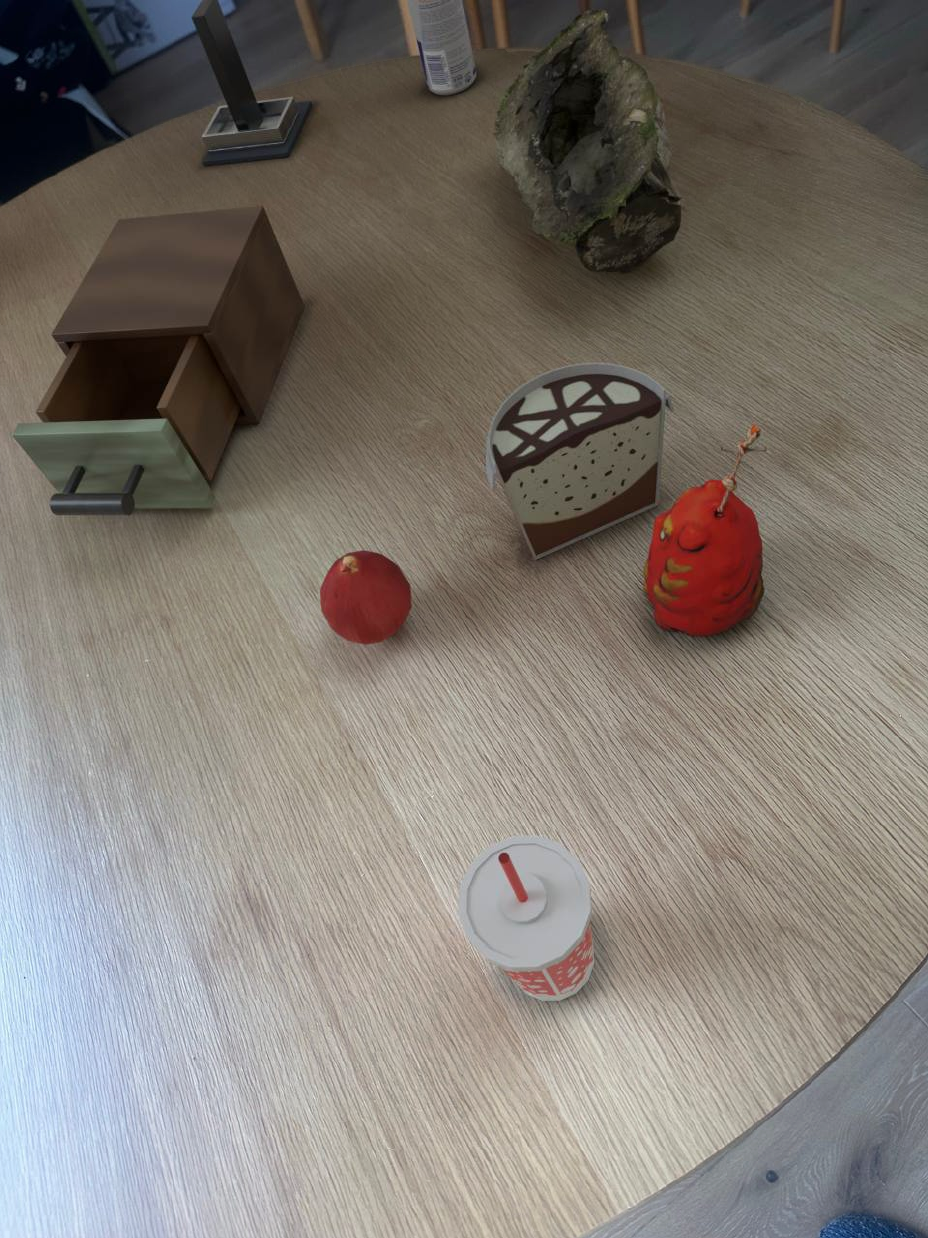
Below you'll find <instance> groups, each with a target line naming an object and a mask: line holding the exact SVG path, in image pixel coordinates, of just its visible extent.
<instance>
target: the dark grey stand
mask: <svg viewBox="0 0 928 1238" xmlns="http://www.w3.org/2000/svg"><path fill="white" fill-rule="evenodd" d="M191 20H192V22H193V25H194V28H195V30H196V33H197V35H198V38H199V40H200V42H201V44H202V47H203V49H204V52H205V54H206V57H207V59H208V62H209V64H210V67H211V69H212V72H213V74H214V77H215V79H216V82H217V83H218V86H219V88H220V91H221V93H222V95H223V98H224V101H225V103H226V104H223V105H218V106H217V108H216V110H215V112H214V113H213V115H212V118H211V120H210V121H209V123H208V124H207V126H206V128H205V130H204V132H203V134H202V135H201V139H202V141H203V143H204V145H205V148H206V150H207V152H209V154H215V153H224V152H233V151H242V150H251V149H260V148H269V147H278V146H285V144H286V142H287V140H288V138H289V136H290V134H291V132H292V130H293V127H294V125H295V123H296V121H297V119H298V117H299V115H300V114H299V111H298V109H297V106H296V103H297V102H296V100H295V97H294V96H288V97H287V96H286V97H279V98H272V99H264V100H257V98H256V95H255V92H254V90H253V87H252V84H251V83H250V80H249V77H248V74H247V71H246V69H245V67H244V64H243V62H242V59H241V56H240V54H239V51H238V48H237V45H236V43H235V41H234V39H233V35H232V33H231V31H230V28H229V25H228V23H227V19H226V17H225V14H224V12H223V8H221V5H220V2H219V0H201V1H200V3H199V5H198V6H197V8H196V9H195V11H194V12H193V14H192V16H191Z"/></svg>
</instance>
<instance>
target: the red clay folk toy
mask: <svg viewBox="0 0 928 1238" xmlns="http://www.w3.org/2000/svg"><path fill="white" fill-rule="evenodd" d="M761 435H762V432H761V428H760V426H758V425H757V424H752V426H751V427H750V429H749V430H747V433H746V439H745V440H742V439H741V441H740V442H738V444H737V445H736V448H730V447H724V446H721V447H720V451H722V452H727V453H728V452H729V453H737V455H736V458H735V462H734V467H733V470H732V472H731V475H726V476H724V477H723V478H722V480H721V479H713V478H711V479H709V480H707V481H705V482H704V484H701V485H700V486H692V487H690V488H688V489H686V490H684V491H683V492H682V493H681V494H680V495H679V496H678V497H677V499H676V500H675V501H674V502H673V506H671V508H669V509H667V510H666V511H665V512H663V513H661V514H659V515H657V516H656V517H655V518H654V522H653V530H652V539H651V542H650V544H649V550H648V555H647V557H646V560H645V563H644V567H643V577H644V581H643V586H642V588H643V591H644V594H645V595H646V596H647V598H648V602H649V603H650V604H651V605H652V606H653V619H654V621H655V624H656V625H657V626H658V627H659V628H660V629H661V630H662V631H665V632H672V633H673V632H674V633H676V632H677V631H679V632H681V633H683V634H685V635H687V636H689V637H695V638H697V637H699V638H700V637H709V636H714V635H717V634H720V633H723V632H725V631H727V630H729V629H730V628H732V627H734V626H735V625H736V624H739V622H740V621H743V620H747V619H749V618H751V617H752V616H754V614H755V613H756V611H757V610H758V608H759V606H760V604H761V601H762V598H763V596H764V594H765V586H764V578H763V576H762V573H763V567H764V558H763V540H762V537H761V535H760V529H759V523H758V520H757V517H756V515H755V513H754V510H753V509H752V508H751V507H750V506H749V505H747V504H746V503H745V502H744V501H743V500H742V499H740V497H738V496H737V495H736V494H735V493H734V492H735V491H736V490H737V488H738V482H737V480H736V478H735V477H736V474H737V471H738V468H739V466H740V463H741V460H742V458H743V456H744V455H746V454H747V453H756V452H767V451H768V449H767V447H766V446H761V447H757V446H756V447H753V448H751V447H750V446H752V445H753V443H754V442H755V441H756V440H758V439H759V438H760V436H761Z"/></svg>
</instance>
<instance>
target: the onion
mask: <svg viewBox="0 0 928 1238" xmlns="http://www.w3.org/2000/svg"><path fill="white" fill-rule="evenodd" d="M325 574H326V575H325V577H324V579H323V581H322V583H321V585H320V589H319V601H320V603H319V604H320V610H321V613H322V615H323V617H324V618H325V620H326V623H328V625H329V627H330V628H331V630H333V632H334V633H335V634H336V635H337V636H340V637H341V638H343V639H344V640H346V641H347V642H351V643H354V644H361V645H372V644H373V645H374V644H378V643H381V642H384V641H385V640H387V639H388V638H390V637H392V636H393V635H395V634H396V633H397V632H398V631H399V630H400V629H401V628H402V627H403V626H404V624H405V622H406V620H407V618H408V616H409V613H410V611H411V609H412V589H411V584H410V582H409V580H408V578H407V577H406V575H405V574H404V572H403V571H402V569H401V568H400V566H399V565H398V564H397V563H396V562H395V561H393V560H391V558H389V557H387V556H385V555H384V554H382V553H379V552H375V551H369V550H362V549H361V550H357V551H352V552H348V553H346V554H344V555H342V556H341V557H339V558H338V559H336V560H335V561H334V562H333V563H332V565H331V567H330V568H329V569H328V570H327V572H326V573H325Z"/></svg>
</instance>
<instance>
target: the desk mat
mask: <svg viewBox="0 0 928 1238" xmlns="http://www.w3.org/2000/svg"><path fill="white" fill-rule="evenodd" d="M295 103H296V106H297V109H298V111H299V114H300V115H299V117H298V119H297V121H296V123H295V125H294V127H293V130H292V132H291V134H290V136H289V138H288V140H287V142H286V144H285V146H278V147H269V148H260V149H251V150H242V151H233V152H224V153H215V154H209V152H208V151H207V152H206V155H205V156H204V158H203V160H202V165H203V167H207V166H208V167H209V166H217V165H226V164H227V165H228V164H235V163H244V162H252V161H263V160H264V161H265V160H271V159H280V158H281V159H282V158H289V157H290V154H291V152H292V150H293V148H294V146H295V143H296V141H297V139H298V137H299V135H300V133H301V130H302V128H303V126H304V125H305V122H306V120H307V117H308V115H309V113H310V111H311V109H312V106H313V103H312V101H311V100H308V101H299V102H295Z"/></svg>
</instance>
